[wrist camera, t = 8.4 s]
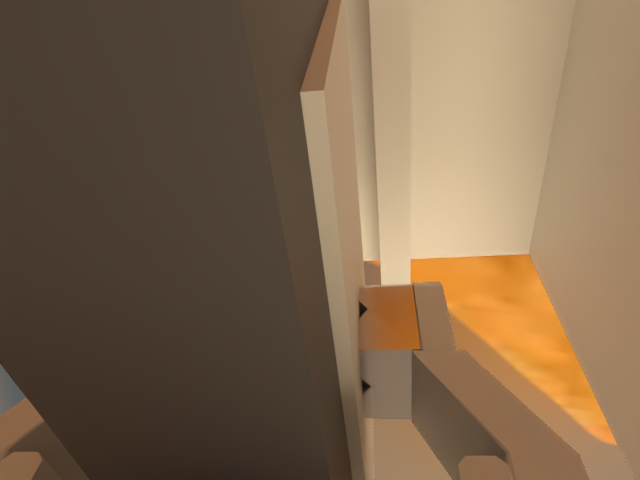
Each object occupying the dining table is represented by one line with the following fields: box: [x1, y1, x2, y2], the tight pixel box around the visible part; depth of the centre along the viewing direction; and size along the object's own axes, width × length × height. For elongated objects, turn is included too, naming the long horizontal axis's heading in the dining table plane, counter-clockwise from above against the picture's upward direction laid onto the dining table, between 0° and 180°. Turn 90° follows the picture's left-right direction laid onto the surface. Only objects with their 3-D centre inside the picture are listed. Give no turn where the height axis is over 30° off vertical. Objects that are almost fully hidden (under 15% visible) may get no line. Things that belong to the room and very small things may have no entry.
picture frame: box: [0, 0, 374, 480], centre depth 9 cm, size 14×3×8 cm, turn 6°
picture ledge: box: [345, 0, 640, 480], centre depth 16 cm, size 24×17×18 cm
